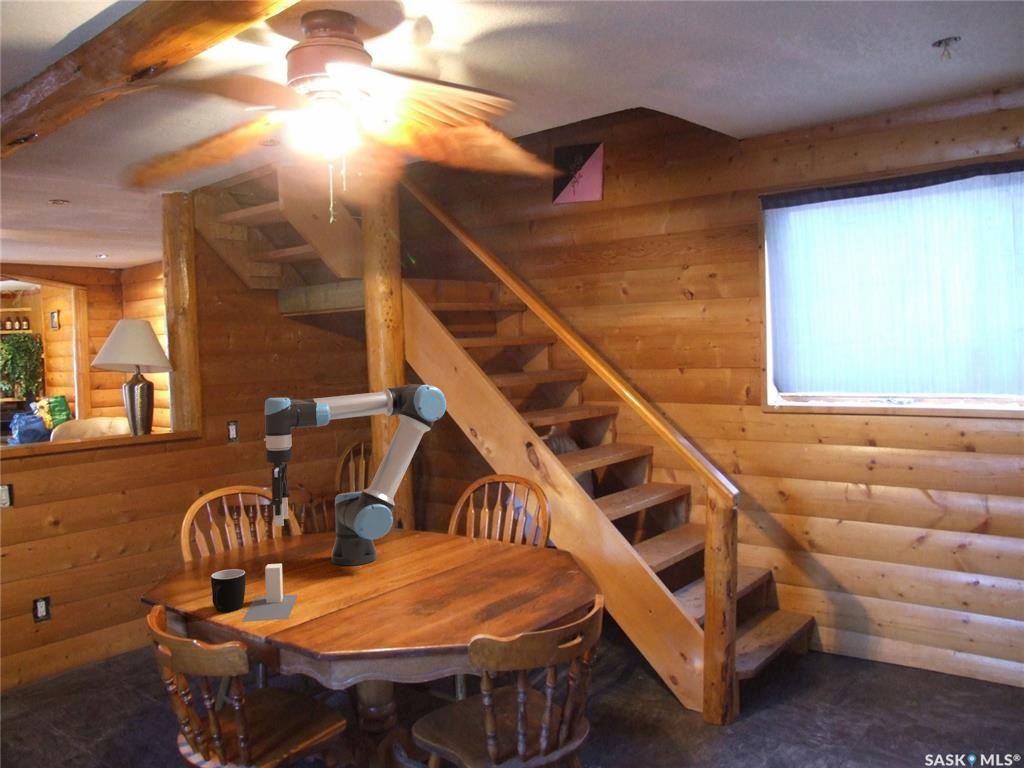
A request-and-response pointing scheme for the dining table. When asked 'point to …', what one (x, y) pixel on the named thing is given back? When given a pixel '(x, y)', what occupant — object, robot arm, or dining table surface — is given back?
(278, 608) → the felt mat
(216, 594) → the mug
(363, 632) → the dining table surface
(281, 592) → the pillar
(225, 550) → the dining table surface
